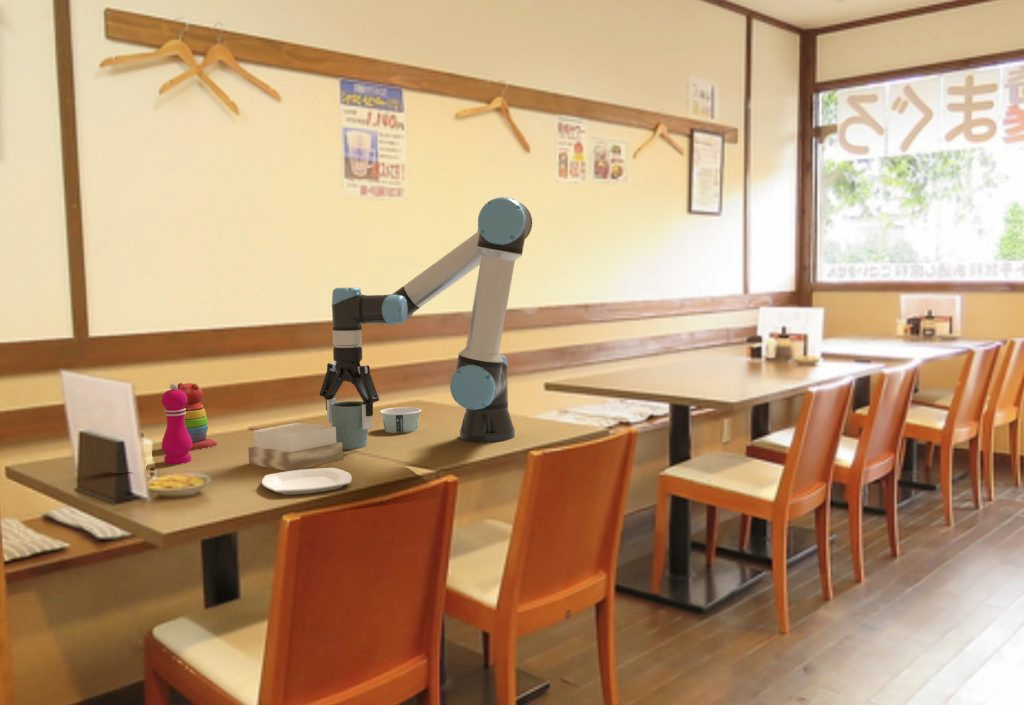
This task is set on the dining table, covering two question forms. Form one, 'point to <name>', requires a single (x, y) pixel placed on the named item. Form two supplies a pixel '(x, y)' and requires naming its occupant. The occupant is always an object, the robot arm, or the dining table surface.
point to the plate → (306, 480)
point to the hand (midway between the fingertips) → (349, 425)
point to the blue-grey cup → (349, 424)
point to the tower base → (295, 457)
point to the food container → (400, 419)
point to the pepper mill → (176, 427)
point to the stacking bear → (196, 417)
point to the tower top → (294, 437)
